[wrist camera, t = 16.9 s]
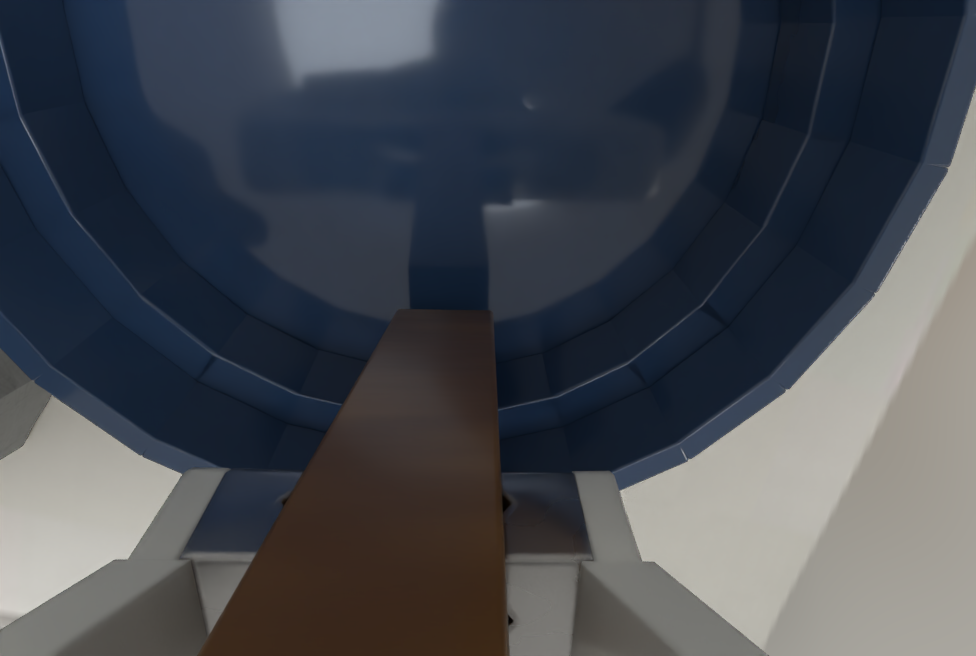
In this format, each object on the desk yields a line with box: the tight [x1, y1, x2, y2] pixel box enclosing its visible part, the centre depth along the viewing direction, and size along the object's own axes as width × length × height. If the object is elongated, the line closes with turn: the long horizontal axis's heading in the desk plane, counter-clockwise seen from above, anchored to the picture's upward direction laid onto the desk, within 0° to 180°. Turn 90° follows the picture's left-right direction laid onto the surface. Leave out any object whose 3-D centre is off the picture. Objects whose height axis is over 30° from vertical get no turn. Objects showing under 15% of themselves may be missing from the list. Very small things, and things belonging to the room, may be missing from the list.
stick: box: [197, 309, 510, 656], centre depth 10 cm, size 2×2×14 cm
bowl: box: [0, 0, 976, 491], centre depth 13 cm, size 19×19×6 cm
